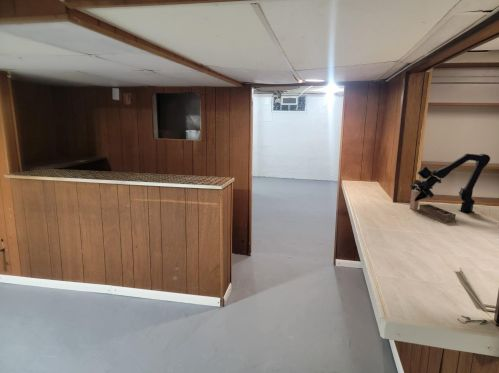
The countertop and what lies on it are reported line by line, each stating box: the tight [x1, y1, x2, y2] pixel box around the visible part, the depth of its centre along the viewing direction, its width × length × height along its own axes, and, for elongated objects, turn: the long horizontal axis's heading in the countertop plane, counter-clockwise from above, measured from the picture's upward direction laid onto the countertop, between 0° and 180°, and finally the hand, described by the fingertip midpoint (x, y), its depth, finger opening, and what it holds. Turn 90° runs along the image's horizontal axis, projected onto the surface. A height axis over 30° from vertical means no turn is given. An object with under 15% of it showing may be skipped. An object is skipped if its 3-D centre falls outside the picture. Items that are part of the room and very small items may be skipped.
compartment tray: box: [417, 203, 457, 224], centre depth 201 cm, size 9×24×5 cm, turn 7°
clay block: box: [409, 189, 420, 211], centre depth 219 cm, size 3×4×13 cm, turn 7°
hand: (412, 199), depth 218 cm, fingers closed on clay block, 4 cm apart
